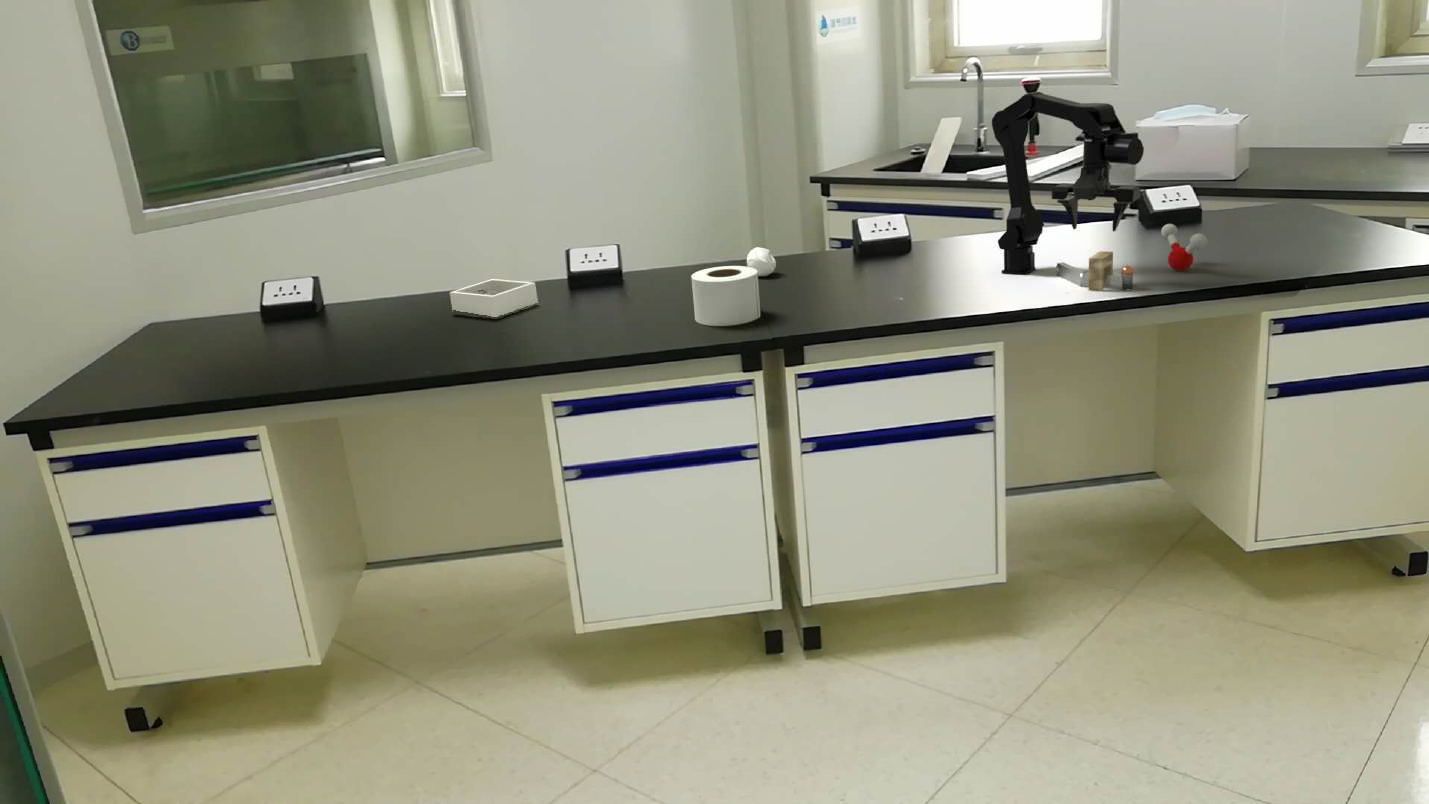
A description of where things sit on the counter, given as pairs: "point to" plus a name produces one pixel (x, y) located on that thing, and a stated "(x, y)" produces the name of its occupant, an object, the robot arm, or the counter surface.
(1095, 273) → the arch
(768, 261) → the crumpled paper ball
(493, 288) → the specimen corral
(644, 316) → the counter surface
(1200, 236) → the molecular model
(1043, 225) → the robot arm
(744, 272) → the toilet paper roll
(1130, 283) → the bent rail
